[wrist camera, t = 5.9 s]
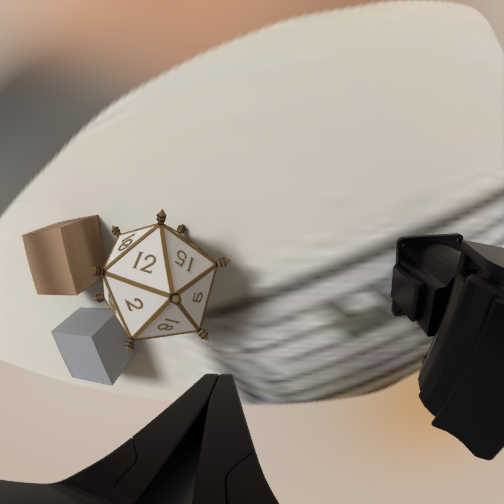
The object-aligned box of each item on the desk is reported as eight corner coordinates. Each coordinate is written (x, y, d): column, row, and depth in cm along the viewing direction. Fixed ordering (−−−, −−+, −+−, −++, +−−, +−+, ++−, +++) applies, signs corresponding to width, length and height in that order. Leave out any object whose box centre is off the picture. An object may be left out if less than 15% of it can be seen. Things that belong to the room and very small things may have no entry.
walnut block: (98, 214, 20) (60, 227, 16) (109, 271, 22) (76, 295, 17) (59, 222, 21) (22, 235, 16) (70, 273, 22) (37, 294, 18)
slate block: (119, 308, 23) (91, 336, 18) (134, 353, 24) (112, 385, 19) (80, 307, 23) (51, 331, 19) (96, 349, 25) (72, 376, 20)
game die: (194, 270, 25) (156, 374, 19) (117, 215, 21) (57, 322, 15) (267, 236, 19) (229, 384, 13) (168, 153, 15) (73, 307, 9)
